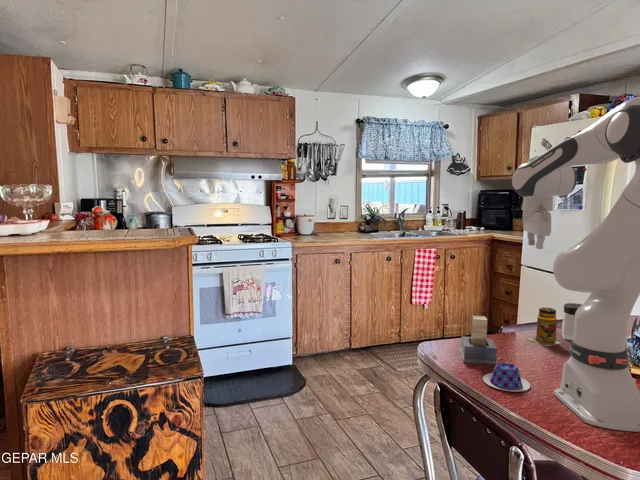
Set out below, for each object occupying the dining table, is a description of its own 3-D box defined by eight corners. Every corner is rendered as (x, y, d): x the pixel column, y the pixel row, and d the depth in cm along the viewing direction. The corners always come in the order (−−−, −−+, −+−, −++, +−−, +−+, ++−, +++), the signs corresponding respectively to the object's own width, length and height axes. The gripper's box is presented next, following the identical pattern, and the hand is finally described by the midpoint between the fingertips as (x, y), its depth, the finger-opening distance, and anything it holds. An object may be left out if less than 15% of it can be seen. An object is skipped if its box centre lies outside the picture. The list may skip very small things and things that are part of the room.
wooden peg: (485, 357, 134) (487, 319, 133) (472, 356, 135) (473, 319, 134) (483, 352, 138) (485, 316, 137) (470, 351, 139) (472, 315, 138)
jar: (571, 342, 151) (573, 309, 149) (555, 335, 159) (557, 303, 157) (594, 341, 152) (597, 308, 151) (577, 334, 160) (580, 302, 159)
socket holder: (497, 364, 131) (498, 348, 130) (463, 362, 133) (463, 346, 133) (491, 353, 141) (492, 338, 140) (459, 350, 143) (460, 335, 142)
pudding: (526, 398, 110) (527, 378, 109) (478, 386, 117) (478, 368, 116) (533, 381, 120) (534, 363, 119) (488, 371, 127) (489, 354, 126)
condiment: (548, 347, 147) (550, 312, 145) (526, 339, 154) (528, 306, 153) (561, 343, 150) (563, 310, 149) (539, 336, 157) (541, 304, 156)
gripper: (558, 206, 132) (555, 251, 133) (539, 204, 151) (537, 243, 153) (536, 206, 133) (533, 250, 134) (520, 204, 153) (517, 243, 154)
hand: (535, 247), depth 144 cm, fingers open, 8 cm apart
